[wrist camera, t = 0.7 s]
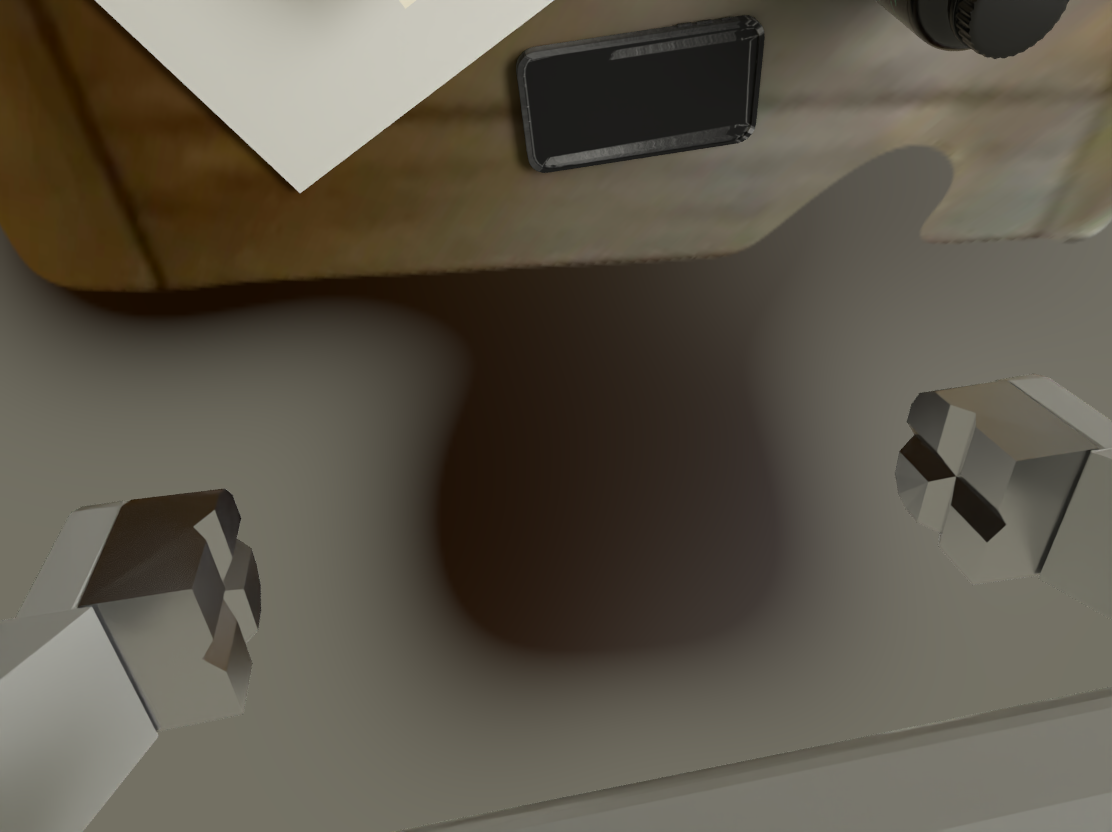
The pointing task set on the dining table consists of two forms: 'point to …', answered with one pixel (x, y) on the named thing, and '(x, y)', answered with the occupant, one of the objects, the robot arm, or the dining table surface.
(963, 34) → the supplement bottle
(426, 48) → the white mat
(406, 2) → the walnut cube
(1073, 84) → the dining table surface
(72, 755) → the robot arm
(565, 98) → the phone
